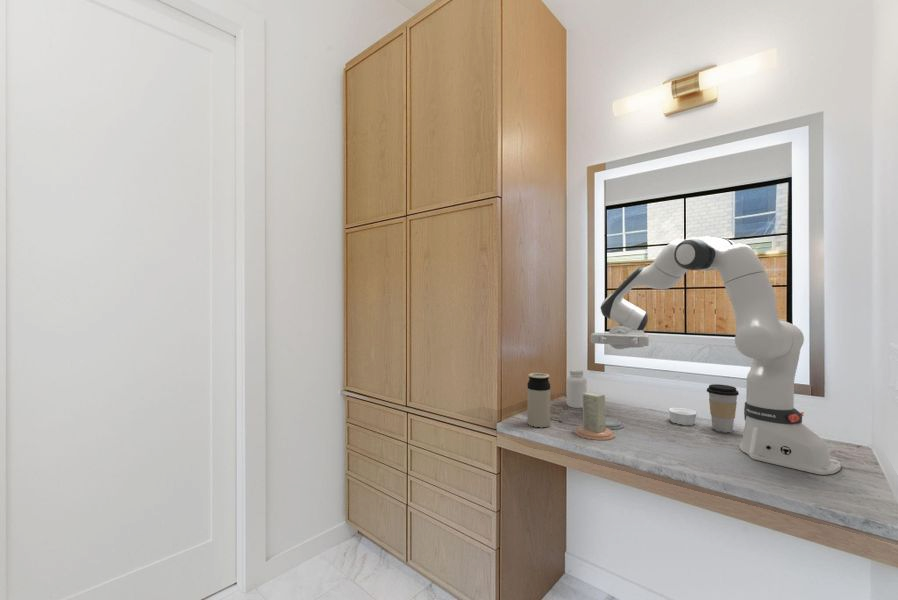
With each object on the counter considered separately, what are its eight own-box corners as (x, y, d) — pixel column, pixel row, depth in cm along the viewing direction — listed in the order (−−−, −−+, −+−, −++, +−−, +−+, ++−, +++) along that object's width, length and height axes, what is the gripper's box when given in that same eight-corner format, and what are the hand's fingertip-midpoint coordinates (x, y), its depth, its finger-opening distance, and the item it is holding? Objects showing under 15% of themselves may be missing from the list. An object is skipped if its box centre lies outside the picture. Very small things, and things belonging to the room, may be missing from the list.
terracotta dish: (623, 435, 138) (623, 432, 138) (598, 443, 131) (598, 439, 131) (591, 425, 149) (591, 421, 149) (566, 431, 142) (566, 428, 142)
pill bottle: (563, 403, 179) (563, 369, 178) (581, 403, 179) (581, 368, 179) (571, 408, 171) (571, 372, 171) (589, 408, 172) (590, 372, 171)
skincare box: (606, 431, 139) (606, 394, 139) (597, 433, 136) (598, 396, 136) (590, 426, 144) (590, 391, 144) (581, 428, 141) (581, 392, 141)
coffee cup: (744, 435, 139) (744, 390, 139) (712, 433, 141) (713, 388, 141) (730, 426, 148) (731, 384, 148) (701, 424, 150) (702, 383, 150)
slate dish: (631, 425, 149) (631, 422, 149) (608, 432, 142) (608, 428, 142) (600, 416, 160) (600, 413, 160) (578, 422, 153) (578, 418, 153)
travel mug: (554, 425, 148) (555, 375, 148) (539, 429, 144) (539, 377, 144) (538, 420, 155) (538, 371, 155) (522, 423, 150) (522, 374, 150)
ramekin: (702, 424, 150) (702, 412, 150) (684, 427, 147) (684, 415, 147) (680, 418, 159) (680, 406, 159) (663, 420, 155) (663, 409, 155)
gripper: (591, 328, 167) (588, 331, 155) (647, 330, 159) (649, 333, 146) (591, 344, 167) (588, 348, 155) (647, 347, 159) (649, 351, 147)
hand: (618, 341), depth 151 cm, fingers open, 8 cm apart
